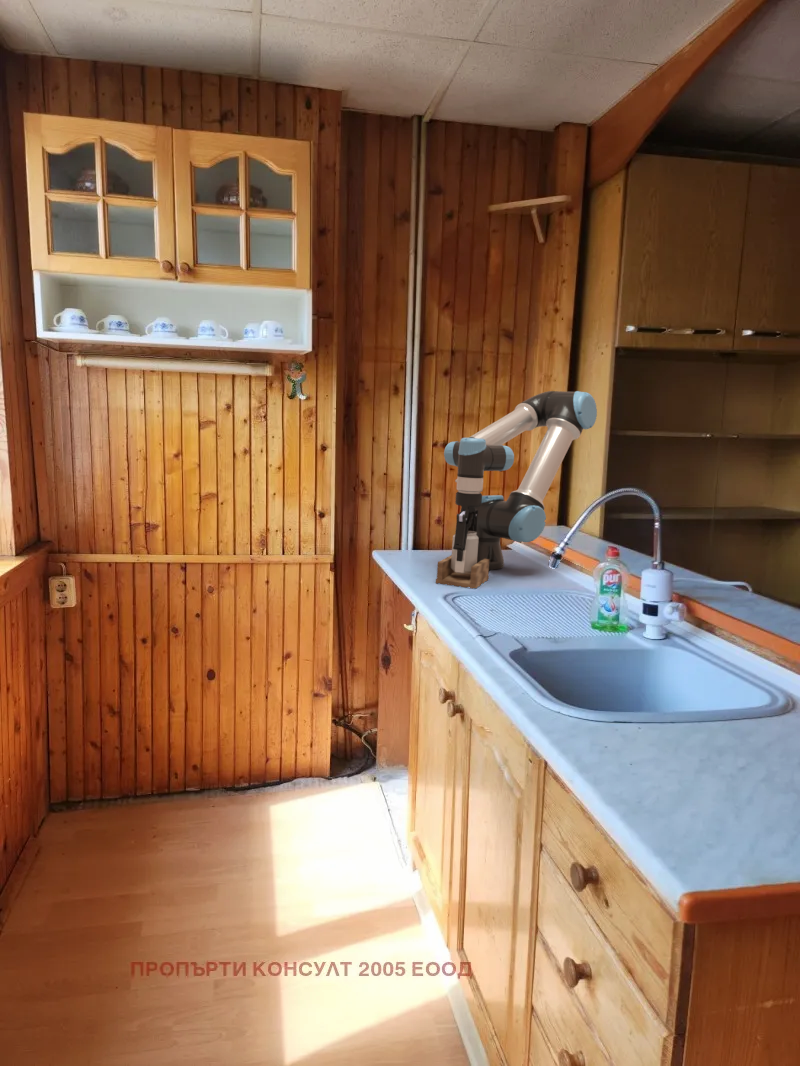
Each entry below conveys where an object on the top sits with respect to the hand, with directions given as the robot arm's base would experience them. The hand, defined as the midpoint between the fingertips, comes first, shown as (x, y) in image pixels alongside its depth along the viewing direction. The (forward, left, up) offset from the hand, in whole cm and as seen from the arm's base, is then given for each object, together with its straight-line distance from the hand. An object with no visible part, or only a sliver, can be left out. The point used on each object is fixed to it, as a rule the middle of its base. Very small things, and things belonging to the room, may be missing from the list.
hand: (463, 569), depth 212 cm
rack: (0, 0, -4) cm, 4 cm away
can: (0, 0, -1) cm, 1 cm away
